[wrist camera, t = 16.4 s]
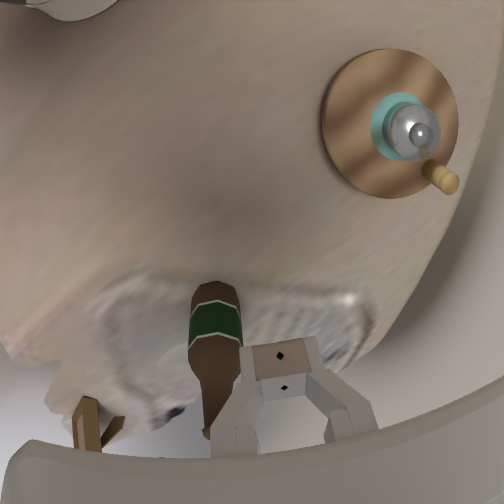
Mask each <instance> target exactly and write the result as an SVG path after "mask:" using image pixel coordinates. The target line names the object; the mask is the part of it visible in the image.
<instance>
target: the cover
mask: <svg viewBox="0 0 504 504" xmlns="http://www.w3.org/2000/svg"><path fill="white" fill-rule="evenodd" d="M382 131H383V137H384V140H385V142H386V144H387V145H388V147H389V148H390V149H391V150H393V151H394V152H396V153H397V154H399V155H400V156H402V157H403V158H405V159H406V160H408V161H411V162H421V161H424V160H426V159H428V158H429V157H430V156H431V155H432V154H433V153H434V152H435V151H436V149H437V147H438V145H439V142H440V137H441V128H440V123H439V121H438V118H437V117H436V115H435V114H434V113H433V112H432V111H431V110H430V109H428V108H426V107H424V106H421V105H418V104H415V103H412V102H407V101H404V102H399V103H397V104H395V105H393V106H392V107H391V108H390V109H389V110H388V112H387V113H386V115H385V117H384V120H383V126H382Z"/></svg>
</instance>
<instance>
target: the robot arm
mask: <svg viewBox="0 0 504 504" xmlns="http://www.w3.org/2000/svg"><path fill="white" fill-rule="evenodd" d="M116 1H117V0H0V2H3V3H10V4H19V5H25V6H28V7H31V8H38V9H40V10H42V11H44V12H45V13H47V14H48V15H50V16H51V17H53V18H55V19H58V20H61V21H77V20H82V19H86V18H89V17H91V16H94V15H96V14H98V13H100V12H102V11H103V10H105V9H107V8H108V7H110V6H111V5H112V4H114V3H115V2H116ZM239 355H240V368H241V380H242V383H238V384H237V386H236V387H235V389H234V390H233V392H232V394H231V395H230V397H229V398H228V400H227V402H226V403H225V405H224V406H223V408H222V410H221V411H220V413H219V414H218V416H217V417H216V419H215V421H214V422H213V424H212V425H211V427H210V442H211V458H152V457H151V458H150V457H136V456H124V455H114V454H107V453H100V452H93V451H86V450H81V449H75V448H70V447H64V446H60V445H55V444H51V443H46V442H42V441H39V440H29V441H28V442H26V443H25V444H24V445H23V446H22V447H21V448H20V449H19V450H18V451H17V452H16V453H15V454H14V455H13V456H12V457H11V458H10V460H9V463H8V466H7V469H6V472H5V476H4V481H3V487H2V494H1V501H0V504H504V376H502V377H500V378H498V379H497V380H495V381H493V382H491V383H489V384H487V385H486V386H484V387H482V388H480V389H478V390H476V391H474V392H472V393H470V394H468V395H466V396H464V397H462V398H460V399H458V400H455V401H453V402H451V403H449V404H446V405H444V406H442V407H439V408H437V409H435V410H432V411H430V412H427V413H425V414H422V415H419V416H417V417H414V418H412V419H409V420H406V421H403V422H400V423H397V424H395V425H392V426H388V427H385V428H382V429H378V425H377V422H376V419H375V416H374V413H373V410H372V407H371V404H370V401H368V400H367V399H366V398H364V397H363V396H362V395H361V394H360V393H358V392H357V391H356V390H354V389H353V388H352V387H351V386H349V385H348V384H347V383H346V382H344V381H343V380H342V379H341V378H340V377H338V376H337V375H336V374H335V373H333V372H332V371H331V370H330V369H325V367H324V364H323V360H322V357H321V353H320V350H319V346H318V343H317V340H316V337H315V336H311V337H305V338H298V339H292V340H286V341H281V342H277V343H269V344H261V345H253V346H245V347H240V348H239ZM302 395H306V397H307V398H308V399H309V400H310V401H311V402H312V403H313V404H314V405H315V406H316V407H317V408H318V409H319V410H320V411H321V412H322V413H323V414H324V415H325V416H326V417H327V418H328V423H327V426H326V429H325V432H324V440H325V444H320V445H315V446H310V447H305V448H299V449H294V450H288V451H281V452H273V453H266V454H261V449H260V444H259V441H258V438H257V434H256V431H255V428H254V427H253V425H254V423H255V421H256V419H257V417H258V415H259V413H260V411H261V409H262V407H263V405H264V401H270V400H276V399H282V398H289V397H295V396H302Z"/></svg>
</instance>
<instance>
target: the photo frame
mask: <svg viewBox="0 0 504 504" xmlns="http://www.w3.org/2000/svg"><path fill="white" fill-rule="evenodd" d="M124 420H125V416H121V417H114V418H113V419H112V421H111V423H110V424H109V426H108V427H107V429H106V430H105V432H104V433H103V435H102V436H101V438H100V430H99V420H98V408H97V400H96V399H90V398H84V397H83V398H82V399H81V401H80V403H79V405H78V407H77V408H76V410H75V412H74V414H73V416H72V429H73V441H74V448H75V449H81V450H86V451H93V452H100V453H102V448H103V447H104V446H105V445H106V444H107V443H108V442H109V441H110V440H111V439H112V438H113V437H114V436H115V435H116V434H117V433H118V432H119V431H120V430H121V429H122V428H123V424H124Z"/></svg>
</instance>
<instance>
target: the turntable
mask: <svg viewBox="0 0 504 504" xmlns="http://www.w3.org/2000/svg"><path fill="white" fill-rule="evenodd" d="M404 101H407V102H412V103H415V104H418V105H421V106H424V107H426V108H428V109H430V110H431V111H432V112H433V113H434V114H435V115H436V117H437V118H438V121H439V123H440V128H441V137H440V142H439V145H438V147H437V149H436V151H435V152H434V153H433V154H432V155H431V156H430V157H429V158H428V159H426V160H424V161H421V162H411V161H408V160H406V159H405V158H403V157H402V156H400V155H399V154H397V153H396V152H394V151H393V150H391V149H390V148H389V147H388V145H387V144H386V142H385V140H384V137H383V131H382V126H383V120H384V117H385V115H386V113H387V112H388V110H389V109H390V108H391V107H392V106H393V105H395V104H397V103H399V102H404ZM322 133H323V139H324V143H325V146H326V149H327V152H328V154H329V156H330V158H331V160H332V162H333V163H334V165H335V166H336V168H337V169H338V170H339V171H340V172H341V174H342V175H343V176H344V177H345V178H346V179H347V180H348V181H349V182H350V183H351V184H352V185H353V186H355V187H356V188H358V189H359V190H361V191H362V192H364V193H366V194H369V195H371V196H375V197H379V198H385V199H395V198H402V197H406V196H409V195H412V194H415V193H417V192H419V191H420V190H422V189H424V188H425V187H427V186H428V185H430V184H431V183H432V184H433V185H435V186H436V187H437V188H438V189H440V190H441V191H442V192H444V193H445V194H446V195H452V194H453V193H455V192H456V190H457V189H458V187H459V177H458V175H456V174H455V173H454V172H452V171H451V170H449V169H448V168H446V165H447V163H448V162H449V160H450V158H451V155H452V153H453V151H454V148H455V144H456V140H457V135H458V111H457V105H456V101H455V98H454V95H453V92H452V90H451V88H450V86H449V84H448V82H447V80H446V79H445V78H444V76H443V75H442V73H441V72H440V71H439V70H438V69H437V68H436V67H435V66H434V65H433V64H432V63H430V62H429V61H428V60H426V59H425V58H423V57H421V56H419V55H417V54H415V53H412V52H409V51H405V50H399V49H377V50H373V51H368V52H366V53H363V54H361V55H359V56H357V57H355V58H354V59H352V60H351V61H349V62H348V63H347V64H346V65H345V66H344V67H343V68H342V69H341V70H340V71H339V72H338V73H337V75H336V76H335V78H334V79H333V81H332V82H331V84H330V86H329V89H328V91H327V94H326V97H325V100H324V104H323V109H322Z"/></svg>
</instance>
